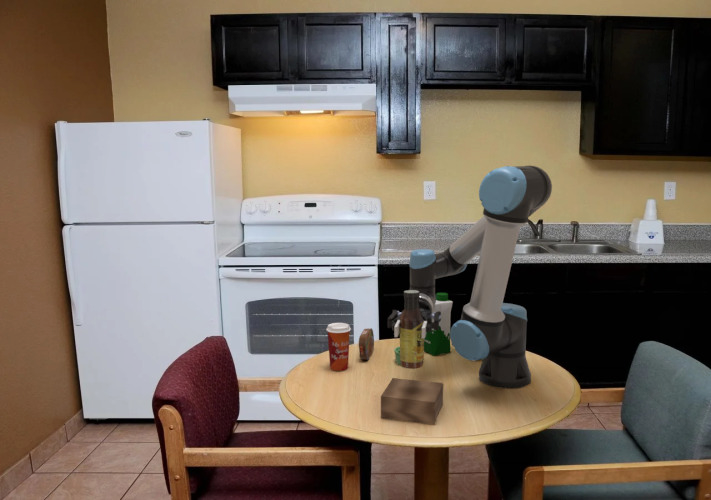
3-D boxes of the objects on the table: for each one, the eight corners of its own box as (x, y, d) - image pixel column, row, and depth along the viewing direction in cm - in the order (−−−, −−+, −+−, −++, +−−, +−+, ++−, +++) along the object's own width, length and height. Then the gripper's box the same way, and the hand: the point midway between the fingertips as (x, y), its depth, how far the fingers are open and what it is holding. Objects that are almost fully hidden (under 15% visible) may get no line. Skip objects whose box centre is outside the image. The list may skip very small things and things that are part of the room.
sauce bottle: (421, 370, 153) (421, 295, 150) (397, 369, 155) (397, 294, 152) (425, 362, 159) (425, 289, 156) (402, 360, 161) (402, 288, 158)
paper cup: (332, 373, 186) (332, 329, 184) (323, 366, 193) (322, 324, 191) (355, 369, 189) (355, 326, 187) (345, 362, 196) (345, 321, 194)
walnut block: (442, 403, 163) (443, 383, 162) (434, 424, 151) (434, 402, 150) (392, 398, 167) (392, 377, 166) (380, 418, 155) (380, 396, 154)
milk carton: (454, 353, 204) (455, 295, 200) (432, 357, 200) (432, 298, 196) (439, 345, 211) (440, 290, 208) (418, 349, 207) (418, 293, 204)
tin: (367, 363, 195) (366, 338, 194) (357, 362, 196) (357, 338, 194) (374, 348, 210) (374, 325, 208) (366, 348, 210) (365, 324, 209)
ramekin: (418, 368, 190) (418, 355, 189) (391, 366, 193) (391, 352, 192) (424, 359, 198) (424, 346, 197) (398, 356, 201) (397, 344, 200)
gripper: (452, 323, 171) (447, 348, 149) (386, 320, 175) (372, 345, 153) (452, 297, 170) (448, 319, 148) (386, 295, 174) (371, 316, 152)
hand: (409, 332), depth 150 cm, fingers closed on sauce bottle, 6 cm apart
